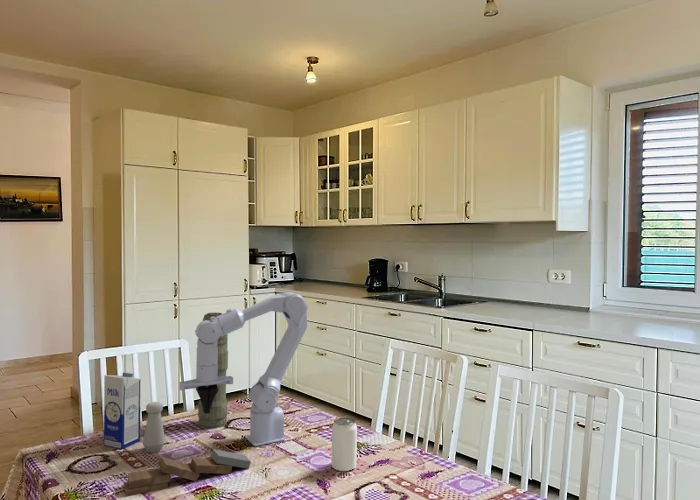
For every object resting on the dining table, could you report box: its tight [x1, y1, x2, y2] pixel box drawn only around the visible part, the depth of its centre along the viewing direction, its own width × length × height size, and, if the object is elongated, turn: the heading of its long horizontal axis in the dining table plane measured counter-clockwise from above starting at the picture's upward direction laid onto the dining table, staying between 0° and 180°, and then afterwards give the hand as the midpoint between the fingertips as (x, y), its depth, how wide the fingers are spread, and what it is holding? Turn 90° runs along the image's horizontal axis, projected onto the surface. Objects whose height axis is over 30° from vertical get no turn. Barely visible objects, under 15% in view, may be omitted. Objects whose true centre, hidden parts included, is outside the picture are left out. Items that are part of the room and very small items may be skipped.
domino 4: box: [189, 457, 233, 475], centre depth 128 cm, size 2×5×9 cm
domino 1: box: [127, 467, 172, 489], centre depth 121 cm, size 2×5×9 cm
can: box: [331, 416, 358, 472], centre depth 133 cm, size 6×6×12 cm
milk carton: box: [103, 372, 142, 450], centre depth 146 cm, size 7×7×20 cm
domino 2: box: [123, 481, 169, 497], centre depth 120 cm, size 2×5×9 cm
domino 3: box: [157, 456, 201, 482], centre depth 124 cm, size 2×5×9 cm
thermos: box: [197, 312, 229, 429], centre depth 163 cm, size 9×12×35 cm
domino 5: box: [210, 448, 252, 469], centre depth 131 cm, size 2×5×9 cm
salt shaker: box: [142, 401, 166, 454], centre depth 141 cm, size 6×6×13 cm
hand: (206, 412), depth 144 cm, fingers closed
